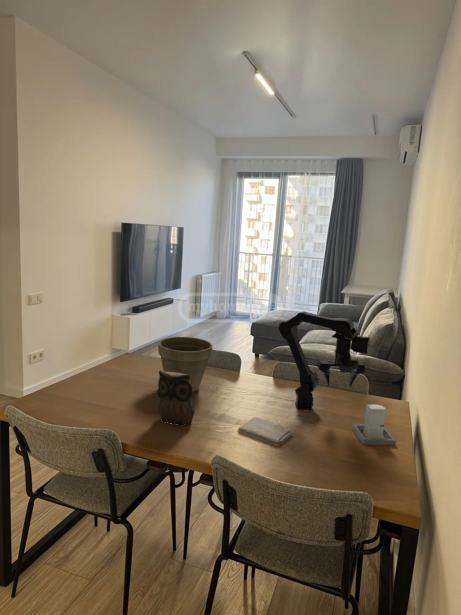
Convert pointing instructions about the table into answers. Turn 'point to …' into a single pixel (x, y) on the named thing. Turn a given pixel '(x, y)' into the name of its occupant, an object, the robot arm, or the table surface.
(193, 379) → the plant pot
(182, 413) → the owl
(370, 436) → the skincare box
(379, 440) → the socket
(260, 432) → the washcloth
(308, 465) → the table surface
